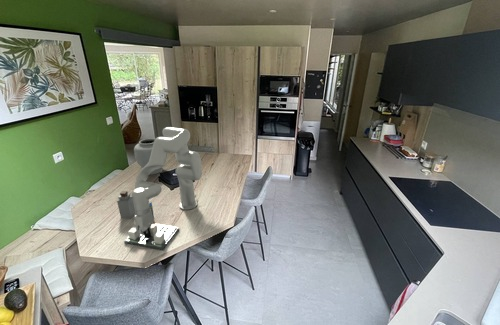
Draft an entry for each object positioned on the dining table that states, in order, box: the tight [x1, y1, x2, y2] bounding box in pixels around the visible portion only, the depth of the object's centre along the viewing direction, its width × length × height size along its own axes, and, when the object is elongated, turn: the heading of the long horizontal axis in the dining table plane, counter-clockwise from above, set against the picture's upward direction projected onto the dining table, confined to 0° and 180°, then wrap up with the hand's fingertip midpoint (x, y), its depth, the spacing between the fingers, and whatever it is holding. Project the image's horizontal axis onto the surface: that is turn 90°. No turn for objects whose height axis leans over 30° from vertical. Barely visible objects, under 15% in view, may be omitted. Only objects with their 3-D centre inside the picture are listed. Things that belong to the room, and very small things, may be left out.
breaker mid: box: [150, 223, 158, 236], centre depth 139 cm, size 4×4×5 cm
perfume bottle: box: [116, 190, 136, 220], centre depth 156 cm, size 7×7×18 cm
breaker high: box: [154, 232, 165, 244], centre depth 132 cm, size 4×4×5 cm
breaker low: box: [127, 227, 140, 240], centre depth 135 cm, size 4×4×5 cm
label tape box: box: [149, 202, 155, 219], centre depth 152 cm, size 9×4×12 cm, turn 150°
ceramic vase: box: [133, 138, 164, 175], centre depth 221 cm, size 27×27×30 cm
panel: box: [123, 222, 180, 252], centre depth 140 cm, size 18×24×3 cm
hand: (147, 237), depth 135 cm, fingers closed
